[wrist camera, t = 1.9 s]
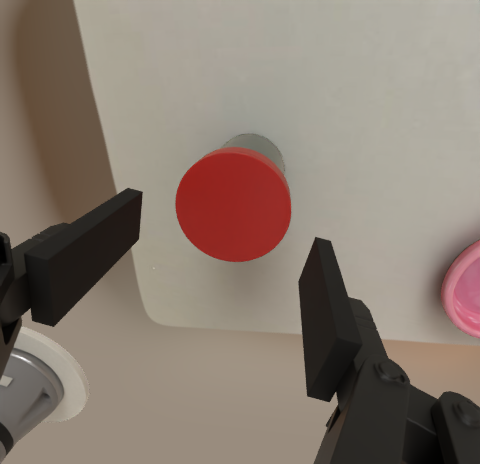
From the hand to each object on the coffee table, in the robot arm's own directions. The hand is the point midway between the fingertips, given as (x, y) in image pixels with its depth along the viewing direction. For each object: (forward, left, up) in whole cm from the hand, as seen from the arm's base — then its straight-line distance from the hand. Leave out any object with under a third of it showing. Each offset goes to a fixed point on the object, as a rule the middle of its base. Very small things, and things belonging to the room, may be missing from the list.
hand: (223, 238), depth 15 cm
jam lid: (0, 0, -4) cm, 4 cm away
